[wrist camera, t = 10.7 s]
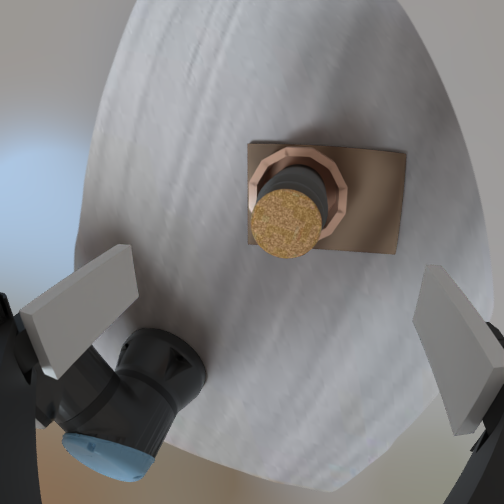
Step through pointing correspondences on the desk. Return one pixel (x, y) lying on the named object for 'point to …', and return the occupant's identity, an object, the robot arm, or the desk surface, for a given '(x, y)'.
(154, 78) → the desk surface
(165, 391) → the robot arm
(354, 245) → the board
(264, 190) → the bottle
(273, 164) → the terracotta bowl
